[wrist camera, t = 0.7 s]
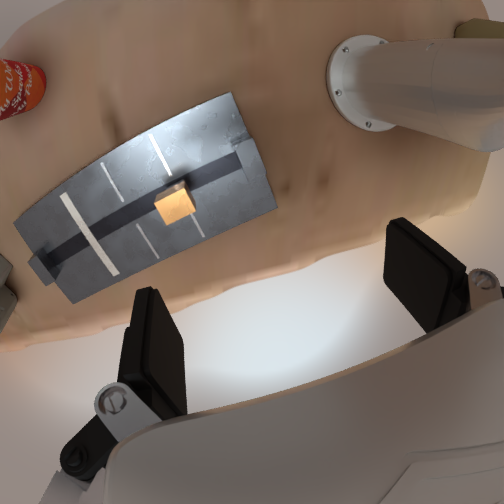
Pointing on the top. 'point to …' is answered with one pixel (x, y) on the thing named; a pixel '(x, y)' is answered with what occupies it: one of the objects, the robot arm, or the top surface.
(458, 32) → the squeeze bottle
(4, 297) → the digital clock
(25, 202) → the top surface
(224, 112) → the grey slider board
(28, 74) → the paper cup
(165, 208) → the fader tab
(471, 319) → the robot arm
